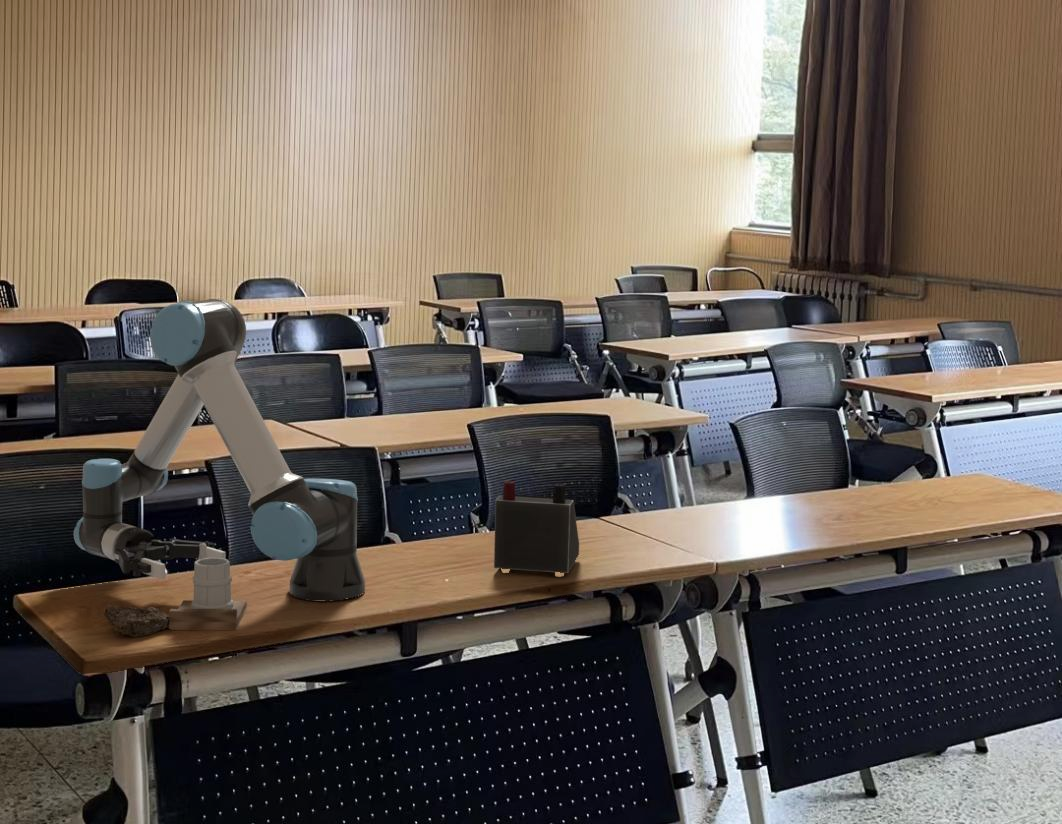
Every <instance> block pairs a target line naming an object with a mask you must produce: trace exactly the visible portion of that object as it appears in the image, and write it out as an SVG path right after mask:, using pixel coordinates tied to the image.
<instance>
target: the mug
mask: <svg viewBox="0 0 1062 824" xmlns="http://www.w3.org/2000/svg"><path fill="white" fill-rule="evenodd" d="M199 547H200V551H199V558H197V560H195V561H194V569H193V570H194V571H193V572H194V573H193V576H192V583H193V601H192V604H191V607H192V609H232V608H233V601H234V600H233V599H232V585H231V583H232V582H233V578H232V577H233V576H232V573H231V565H230V562H231V561H229V559H227V558H226V559H224V558H208V557H207V546H206V544H205V543H203V544H199Z"/></svg>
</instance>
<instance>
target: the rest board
mask: <svg viewBox="0 0 1062 824" xmlns="http://www.w3.org/2000/svg"><path fill="white" fill-rule="evenodd" d="M193 600H194V599H193ZM193 600H188V599H187V600H185V599H184V600H182V602H181V603H180V605H179V606H178V608H170V609H169V610H168V616H169V626H168V627H169V629H171V630H170V631H173V630H174V631H175V630H176V631H181V630H182V631H192V630H193V631H236V630H237V629H238V627H239V625H240V622H241V621H242V618H243V617H244V615H245V613H244V612H246V611H247V609H246V608H247V606H248V605H247V604H248V603H247V602H248V601H247V600H233V608H232V609H192V607H191V604H192V601H193ZM245 610H246V611H245ZM243 614H244V615H243Z"/></svg>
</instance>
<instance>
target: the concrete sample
mask: <svg viewBox="0 0 1062 824" xmlns="http://www.w3.org/2000/svg"><path fill="white" fill-rule="evenodd" d="M102 613H103V617H104V619H105V620H107V621H108V623H109V624H110V625H111V626H112V627H114V633H115V634H119V635H127V636H131V637H134V638H136V637H137V636H138V637H142V636H141V635H145V636H147V635H151V634H152V633H153V634H155V633H157V632H159V631H162V630H165V629H166V628H167V627H169V614H167V613H165V612H164V611H160V609H159V608H155V607H153V606H150V607H144V608H141V607H135V606H128V605H127V606H123V605H120V606H119V605H118V606H115V605H111V604H109V605H108V606H105V608H104V610H103V612H102ZM154 632H155V633H154ZM150 633H151V634H150ZM138 637H137V638H138Z"/></svg>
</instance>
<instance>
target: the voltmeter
mask: <svg viewBox="0 0 1062 824" xmlns="http://www.w3.org/2000/svg"><path fill="white" fill-rule="evenodd" d="M552 493H553V494H552V496H540V495H538V496H537V495H526V494H525V495H524V494H516V482H515V481H510V480H506V481H503V490H502V495H498V497H497V498H495V502H494V503H495V504H494V505H495V506H494V507H495V509H494V511H495V512H494V513H495V514H494V553H493V554H494V555H493V568H494V569H500V568H502V569H511V570H520V571H532V572H534V571H535V572H548V573H549V572H550V573H554V572H560V573H565V574H569V572H570V571H569V570H571V569H572V567H573V566H574V564H575V562H576V561H577V559H578V558H579V556H580V540H579V539H580V538H579V531H578V524H577V517H576V516H577V515H576V509H575V502H574V501H575V500H574V499H568V497H566V485H564V484H561V483H560V484H559V483H556V484H553V492H552ZM578 555H579V556H578ZM577 557H578V558H577ZM576 558H577V559H576ZM575 560H576V561H575ZM572 565H573V566H572Z"/></svg>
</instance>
